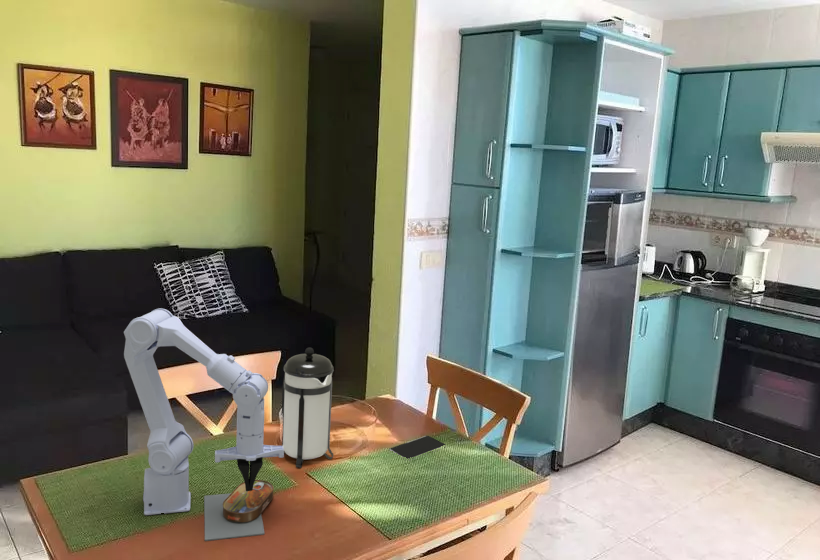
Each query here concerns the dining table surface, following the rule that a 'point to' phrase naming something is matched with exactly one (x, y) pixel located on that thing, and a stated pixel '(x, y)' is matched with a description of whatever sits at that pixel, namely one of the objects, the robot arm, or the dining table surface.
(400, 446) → the smartphone
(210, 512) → the mat
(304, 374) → the coffee press
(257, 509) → the tin
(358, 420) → the dining table surface
